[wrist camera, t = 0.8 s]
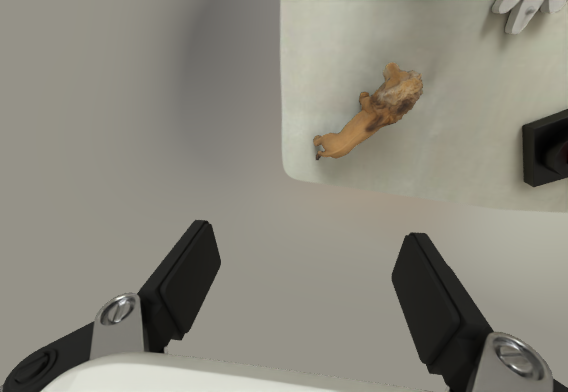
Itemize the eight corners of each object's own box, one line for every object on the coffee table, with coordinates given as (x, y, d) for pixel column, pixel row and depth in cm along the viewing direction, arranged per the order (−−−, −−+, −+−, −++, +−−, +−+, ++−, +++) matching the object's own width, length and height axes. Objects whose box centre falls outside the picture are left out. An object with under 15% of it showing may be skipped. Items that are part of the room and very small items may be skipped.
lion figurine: (379, 55, 26) (406, 51, 18) (409, 84, 27) (447, 92, 19) (303, 148, 33) (300, 173, 25) (330, 168, 34) (334, 198, 26)
